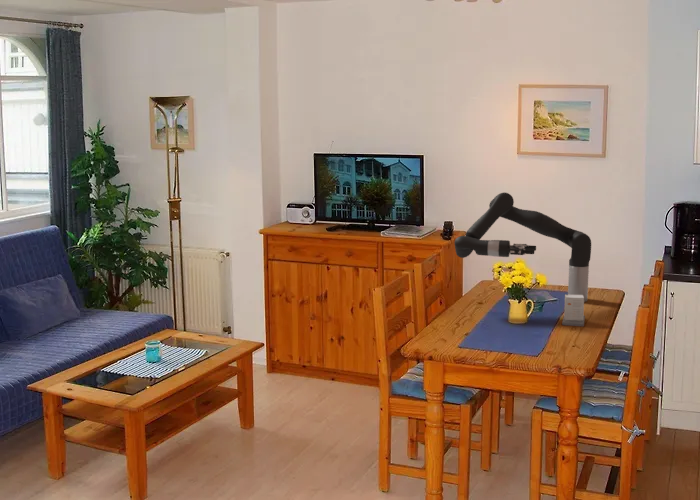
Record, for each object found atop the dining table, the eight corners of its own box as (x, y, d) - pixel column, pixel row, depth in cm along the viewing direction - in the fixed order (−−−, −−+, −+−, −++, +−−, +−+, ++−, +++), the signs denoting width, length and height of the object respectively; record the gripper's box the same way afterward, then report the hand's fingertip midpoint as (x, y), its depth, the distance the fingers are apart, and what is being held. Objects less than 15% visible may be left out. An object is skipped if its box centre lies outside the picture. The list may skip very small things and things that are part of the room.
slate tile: (564, 316, 387) (564, 314, 387) (584, 318, 384) (584, 315, 384) (562, 325, 374) (562, 322, 374) (583, 326, 371) (583, 323, 371)
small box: (582, 317, 381) (583, 294, 379) (583, 321, 375) (584, 297, 373) (563, 317, 382) (564, 294, 380) (564, 320, 377) (565, 297, 375)
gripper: (496, 242, 383) (534, 244, 378) (500, 237, 396) (536, 239, 391) (496, 259, 384) (533, 261, 379) (500, 253, 397) (536, 255, 393)
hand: (535, 249), depth 385 cm, fingers open, 8 cm apart
